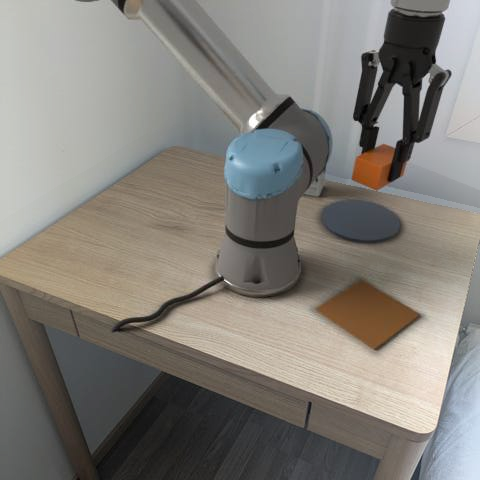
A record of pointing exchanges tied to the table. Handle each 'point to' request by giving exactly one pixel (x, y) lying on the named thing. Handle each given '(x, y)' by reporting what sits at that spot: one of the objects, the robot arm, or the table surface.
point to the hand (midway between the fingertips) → (378, 172)
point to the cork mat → (368, 313)
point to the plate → (360, 221)
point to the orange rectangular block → (374, 167)
